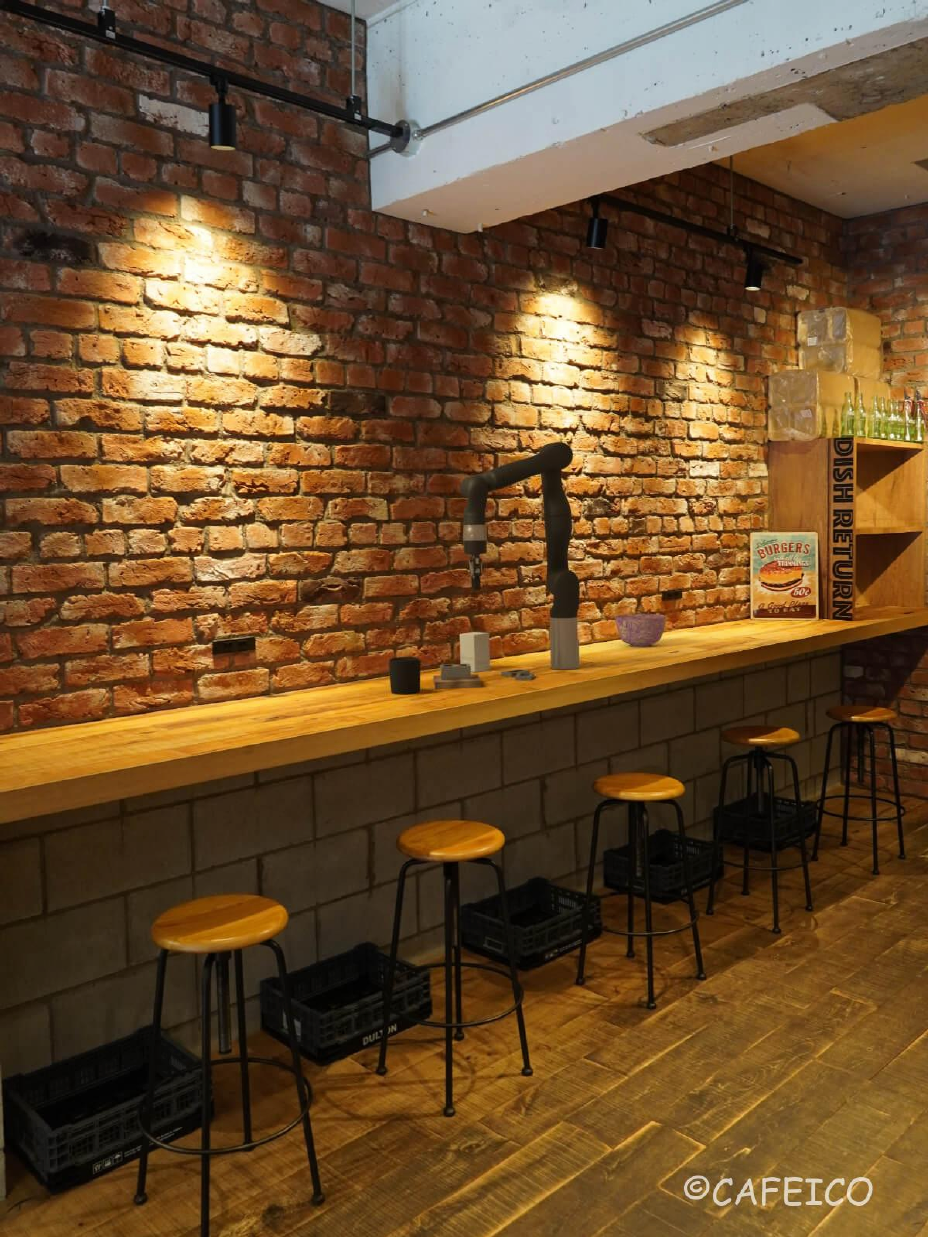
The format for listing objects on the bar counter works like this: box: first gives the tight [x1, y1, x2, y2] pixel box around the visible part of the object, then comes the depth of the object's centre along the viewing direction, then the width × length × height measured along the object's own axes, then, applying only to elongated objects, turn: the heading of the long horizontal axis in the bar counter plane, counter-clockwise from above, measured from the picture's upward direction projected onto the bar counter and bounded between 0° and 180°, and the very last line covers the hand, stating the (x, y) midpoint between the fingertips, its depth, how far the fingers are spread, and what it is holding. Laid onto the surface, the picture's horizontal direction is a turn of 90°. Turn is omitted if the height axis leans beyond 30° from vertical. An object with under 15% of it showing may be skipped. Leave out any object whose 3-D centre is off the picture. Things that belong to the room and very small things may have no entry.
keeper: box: [432, 665, 483, 690], centre depth 322 cm, size 14×14×6 cm
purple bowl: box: [614, 613, 667, 648], centre depth 408 cm, size 20×20×12 cm
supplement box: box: [459, 631, 491, 673], centre depth 352 cm, size 7×7×13 cm
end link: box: [439, 663, 472, 680], centre depth 322 cm, size 9×6×4 cm, turn 94°
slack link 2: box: [514, 672, 535, 681], centre depth 331 cm, size 8×5×1 cm, turn 169°
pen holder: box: [388, 656, 422, 695], centre depth 310 cm, size 9×9×10 cm
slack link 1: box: [500, 668, 531, 678], centre depth 339 cm, size 8×5×1 cm, turn 129°
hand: (476, 589), depth 338 cm, fingers open, 8 cm apart
